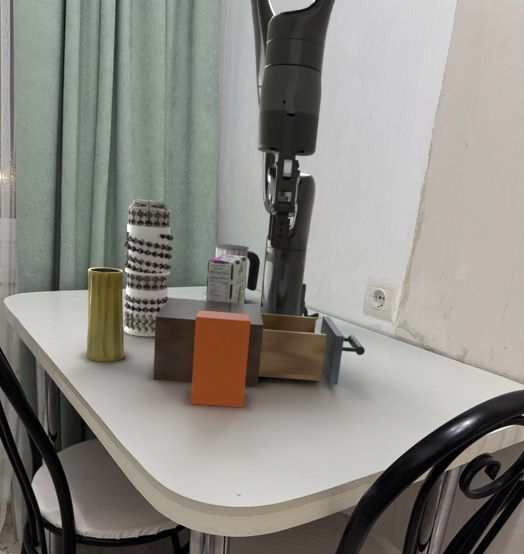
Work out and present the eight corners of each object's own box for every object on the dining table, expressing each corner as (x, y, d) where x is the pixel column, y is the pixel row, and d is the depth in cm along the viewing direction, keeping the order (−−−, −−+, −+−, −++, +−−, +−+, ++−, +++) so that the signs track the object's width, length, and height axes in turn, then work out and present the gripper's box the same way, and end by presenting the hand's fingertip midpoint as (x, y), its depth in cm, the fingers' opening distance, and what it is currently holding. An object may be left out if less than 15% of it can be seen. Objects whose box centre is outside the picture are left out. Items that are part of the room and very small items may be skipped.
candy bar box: (218, 335, 103) (224, 253, 98) (242, 338, 102) (249, 256, 97) (201, 349, 92) (207, 258, 88) (228, 353, 91) (234, 261, 87)
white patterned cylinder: (158, 323, 107) (163, 201, 100) (177, 335, 100) (183, 203, 93) (116, 326, 102) (117, 197, 95) (132, 338, 95) (134, 199, 88)
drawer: (347, 360, 90) (353, 318, 88) (364, 387, 78) (372, 338, 75) (242, 352, 89) (246, 309, 87) (242, 378, 76) (247, 328, 74)
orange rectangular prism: (242, 396, 72) (250, 314, 68) (243, 407, 68) (250, 321, 65) (193, 393, 71) (198, 310, 68) (190, 404, 68) (195, 316, 64)
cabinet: (255, 357, 90) (260, 304, 87) (257, 386, 76) (263, 325, 74) (167, 351, 89) (169, 297, 86) (153, 379, 75) (155, 316, 73)
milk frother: (231, 305, 132) (236, 248, 128) (185, 295, 140) (188, 241, 135) (261, 300, 143) (266, 247, 139) (217, 290, 151) (220, 240, 147)
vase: (131, 355, 85) (133, 270, 81) (110, 364, 80) (110, 274, 76) (101, 348, 87) (101, 265, 83) (77, 357, 81) (76, 269, 77)
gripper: (258, 117, 69) (248, 237, 74) (260, 99, 56) (248, 247, 61) (312, 123, 70) (299, 242, 75) (327, 106, 56) (310, 253, 61)
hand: (276, 244), depth 68 cm, fingers open, 8 cm apart
